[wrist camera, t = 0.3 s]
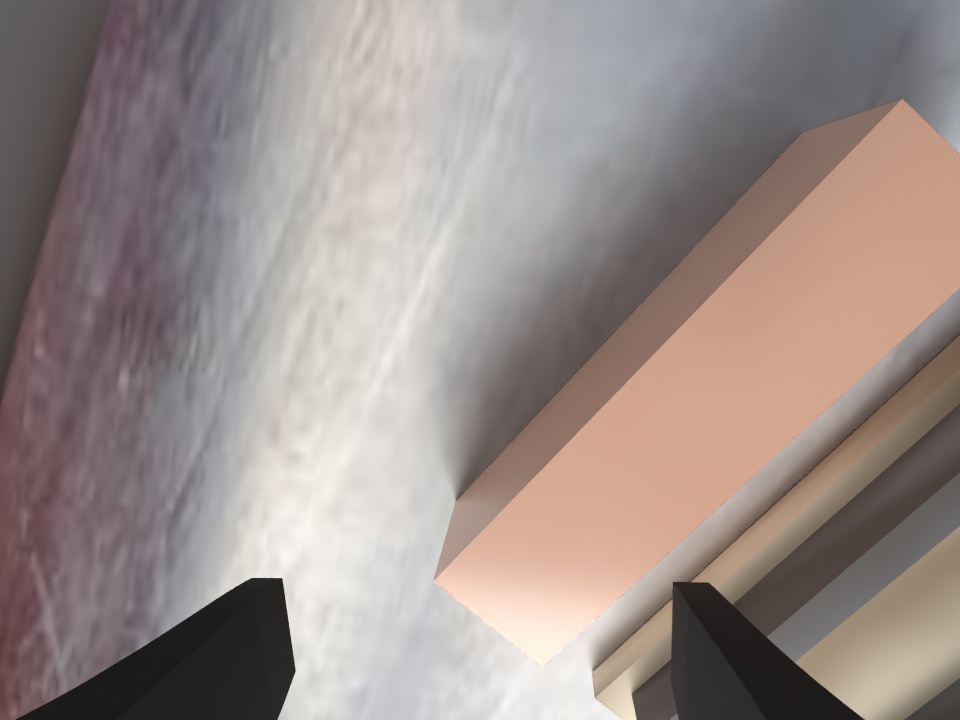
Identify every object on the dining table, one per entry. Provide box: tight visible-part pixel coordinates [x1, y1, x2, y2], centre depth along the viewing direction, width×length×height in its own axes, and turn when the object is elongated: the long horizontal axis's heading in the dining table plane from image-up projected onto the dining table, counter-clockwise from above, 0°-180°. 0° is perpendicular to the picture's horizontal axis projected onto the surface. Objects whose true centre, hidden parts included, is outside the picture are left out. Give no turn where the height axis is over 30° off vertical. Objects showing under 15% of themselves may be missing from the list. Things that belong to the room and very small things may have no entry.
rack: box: [592, 335, 960, 720], centre depth 18 cm, size 10×20×3 cm, turn 141°
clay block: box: [433, 99, 960, 668], centre depth 17 cm, size 4×16×5 cm, turn 140°
